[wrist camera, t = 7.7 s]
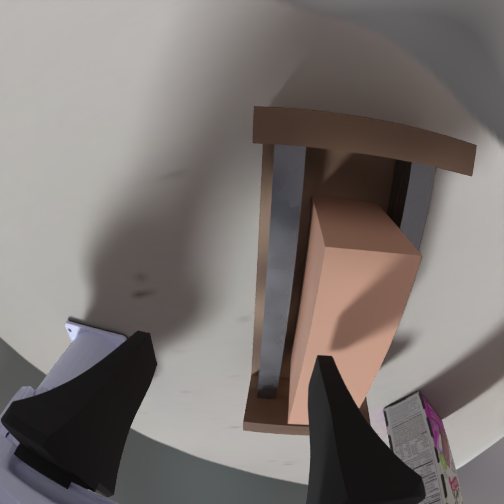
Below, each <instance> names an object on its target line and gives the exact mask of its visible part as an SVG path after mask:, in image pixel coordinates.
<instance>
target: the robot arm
mask: <svg viewBox="0 0 504 504" xmlns="http://www.w3.org/2000/svg"><path fill="white" fill-rule="evenodd" d="M65 326H66V329H67V331H68V333H69V336H70V338H71V341H72V343H71V344H70V345H69V347H68V348H67V349H66V351H65V352H64V353H63V354H62V356H61V357H60V358H59V360H58V361H57V362H56V364H55V365H54V366H53V368H52V369H51V370H50V372H49V373H48V375H47V376H46V377H45V379H44V380H43V382H42V383H41V384H40V386H39V387H38V388H37V389H36V390H33V389H32V387H30V386H29V387H22V388H21V389H20V390H19V391H18V392H17V393H16V394H15V396H14V397H13V398H12V400H11V401H10V402H9V404H8V405H7V406H6V408H5V410H4V411H3V412H2V414H1V415H0V504H119V503H116V502H114V501H111V500H109V499H107V498H104V497H102V496H100V495H97V494H95V493H93V492H97V493H99V494H101V495H103V496H106V497H110V496H112V495H114V491H115V484H116V479H117V473H118V468H119V464H120V460H121V456H122V452H123V449H124V445H125V441H126V438H127V435H128V433H129V429H130V427H131V424H132V422H133V419H134V417H135V415H136V413H137V411H138V409H139V407H140V405H141V403H142V401H143V399H144V397H145V395H146V392H147V390H148V388H149V386H150V384H151V381H152V378H153V375H154V372H155V369H156V366H157V362H156V358H155V354H154V349H153V345H152V341H151V336H150V333H146V332H142V331H137V332H136V333H134V334H133V335H132V336H131V337H129V338H128V339H127V338H126V337H125V336H124V335H120V334H116V333H112V332H108V331H104V330H100V329H96V328H92V327H88V326H85V325H81V324H77V323H74V322H70V321H67V322H66V323H65ZM308 419H309V434H310V472H309V484H308V494H307V502H306V504H418V503H420V502H421V501H423V500H424V498H425V497H426V492H425V486H424V483H423V480H422V476H420V475H419V474H418V473H416V472H415V471H414V470H412V469H411V468H410V467H409V466H408V465H406V464H405V463H404V462H403V461H402V460H401V459H400V458H399V457H398V456H396V455H395V454H394V452H393V451H392V450H391V449H390V448H389V447H388V446H387V445H386V444H385V443H384V442H383V441H382V440H381V438H380V437H379V436H378V435H377V433H376V432H375V431H374V430H373V428H372V427H371V426H370V424H369V423H368V422H367V420H366V419H365V417H364V416H363V414H362V413H361V411H360V409H359V408H358V406H357V405H356V403H355V401H354V400H353V398H352V396H351V394H350V392H349V390H348V389H347V387H346V385H345V383H344V381H343V379H342V377H341V374H340V372H339V370H338V368H337V366H336V363H335V361H334V358H333V357H332V356H327V355H317V358H316V361H315V365H314V368H313V372H312V375H311V378H310V382H309V385H308ZM91 491H93V492H91Z"/></svg>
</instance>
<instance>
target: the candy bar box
mask: <svg viewBox="0 0 504 504" xmlns="http://www.w3.org/2000/svg"><path fill="white" fill-rule="evenodd" d="M383 412H384V417H385V421H386V427H387V433H388V438H389V444H390V449H391V450H392V451H393V452H394V454H395V455H396V456H398V457H399V458H400V459H401V460H402V461H403V462H404V463H405V464H406V465H408V466H409V467H410V468H411V469H412V470H414V471H415V472H416V473H418V474H419V475H420V476H422V480H423V483H424V486H425V492H426V497H425V498H424V500H423V501H421V502H420V503H418V504H463V500H462V494H461V490H460V485H459V481H458V477H457V473H456V469H455V465H454V460H453V457H452V453H451V450H450V446H449V442H448V439H447V436H446V432H445V429H444V426H443V422H442V420H441V419H440V418H439V416H438V415H437V414H436V412H435V411H434V410H433V408H432V407H431V406H430V404H429V403H428V402H427V400H426V399H425V398H424V397H423V395H422V394H421V392H420V391H417V392H415V393H413V394H411V395H409V396H407V397H406V398H404V399H402V400H400V401H398V402H397V403H395V404H392V405H390V406H388V407H387V408H385V409H383Z"/></svg>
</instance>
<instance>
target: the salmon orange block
mask: <svg viewBox="0 0 504 504" xmlns="http://www.w3.org/2000/svg"><path fill="white" fill-rule="evenodd" d="M421 258H422V255H421V254H420V253H419V252H418V250H417V249H416V248H415V247H414V245H413V244H412V243H411V242H410V241H409V239H408V238H407V237H406V236H405V235H404V233H403V232H402V231H401V230H400V229H399V228H398V226H397V225H396V224H395V223H394V222H393V221H392V219H391V218H390V217H389V216H388V215H387V214H386V213H385V212H384V211H383V209H382V208H381V207H380V206H379V205H378V204H377V203H371V202H363V201H355V200H346V199H337V198H328V197H318V196H312V202H311V211H310V220H309V229H308V237H307V245H306V253H305V261H304V268H303V276H302V283H301V290H300V297H299V303H298V310H297V316H296V322H295V329H294V335H293V340H292V346H291V367H290V391H289V411H288V424H303V425H309V419H308V385H309V382H310V378H311V375H312V372H313V368H314V365H315V361H316V358H317V355H327V356H332V357H333V358H334V361H335V363H336V366H337V368H338V370H339V372H340V374H341V377H342V379H343V381H344V383H345V385H346V387H347V389H348V390H349V392H350V394H351V396H352V398H353V400H354V401H355V403H356V405H357V406H358V408H360V406H361V404H362V402H363V401H364V399H365V397H366V395H367V393H368V391H369V389H370V387H371V385H372V383H373V381H374V379H375V377H376V375H377V373H378V371H379V369H380V367H381V364H382V362H383V360H384V358H385V356H386V353H387V351H388V349H389V347H390V344H391V342H392V340H393V337H394V335H395V332H396V330H397V327H398V325H399V322H400V320H401V317H402V315H403V312H404V309H405V307H406V304H407V301H408V298H409V295H410V292H411V290H412V287H413V284H414V281H415V277H416V274H417V271H418V268H419V265H420V261H421Z"/></svg>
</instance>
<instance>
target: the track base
mask: <svg viewBox="0 0 504 504" xmlns="http://www.w3.org/2000/svg"><path fill="white" fill-rule="evenodd" d="M253 143H260V144H263V155H262V177H261V199H260V220H259V241H258V261H257V281H256V301H255V320H254V338H253V357H252V375H251V381H250V386H249V392H248V398H247V404H246V410H245V415H244V421H243V430H245V431H253V432H263V433H274V434H289V435H310V434H309V425H303V424H288V411H289V391H290V367H291V346H292V340H293V335H294V329H295V322H296V316H297V310H298V303H299V297H300V290H301V283H302V276H303V268H304V261H305V253H306V245H307V237H308V229H309V220H310V211H311V202H312V196H318V197H328V198H337V199H346V200H355V201H363V202H371V203H377V204H378V205H379V206H380V207H381V208H382V209H383V211H384V212H385V213H386V214H387V215H388V216H389V217H390V218H391V219H392V221H393V222H394V223H395V224H396V225H397V226H398V228H399V229H400V230H401V231H402V232H403V233H404V235H405V236H406V237H407V238H408V239H409V241H410V242H411V243H412V244H413V245H414V247H415V248H416V249H417V250H418V249H419V246H420V242H421V238H422V234H423V230H424V226H425V222H426V217H427V213H428V208H429V203H430V198H431V193H432V188H433V182H434V177H435V170H436V168H440V169H444V170H449V171H453V172H457V173H460V174H464V175H468V176H472V174H473V168H474V161H475V154H476V146H477V145H474V144H471V143H468V142H465V141H462V140H459V139H456V138H452V137H449V136H446V135H442V134H438V133H435V132H431V131H427V130H423V129H419V128H415V127H411V126H407V125H402V124H397V123H393V122H388V121H383V120H377V119H372V118H366V117H360V116H354V115H347V114H340V113H333V112H324V111H315V110H305V109H294V108H280V107H260V106H254V120H253ZM359 409H360V411H361V413H362V414H363V416H364V417H365V419H366V420H367V422H368V423H369V424H370V418H369V412H368V406H367V400H366V397H365V399H364V401H363V402H362V404H361V406H360V408H359ZM370 426H371V425H370Z"/></svg>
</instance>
